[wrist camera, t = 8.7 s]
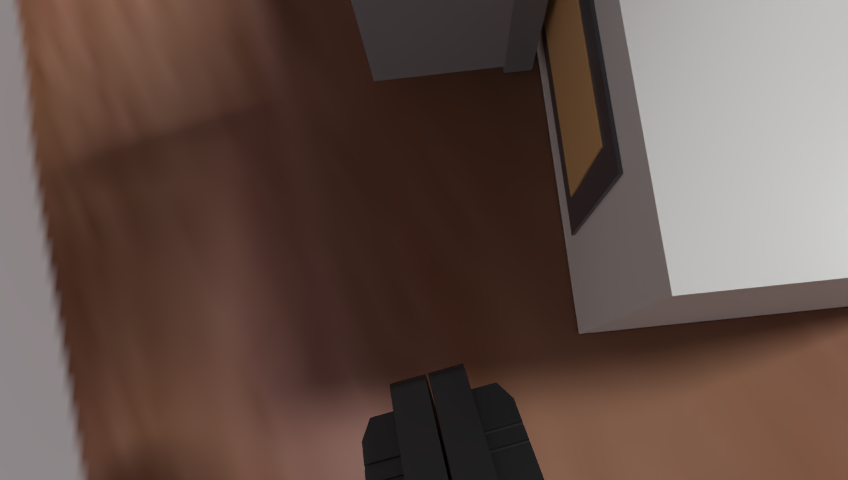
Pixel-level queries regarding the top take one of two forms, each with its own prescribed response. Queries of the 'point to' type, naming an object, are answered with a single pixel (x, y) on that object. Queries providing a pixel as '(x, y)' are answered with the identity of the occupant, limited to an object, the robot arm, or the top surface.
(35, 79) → the top surface
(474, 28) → the side door
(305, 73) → the top surface
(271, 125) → the top surface
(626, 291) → the knobbed white box
